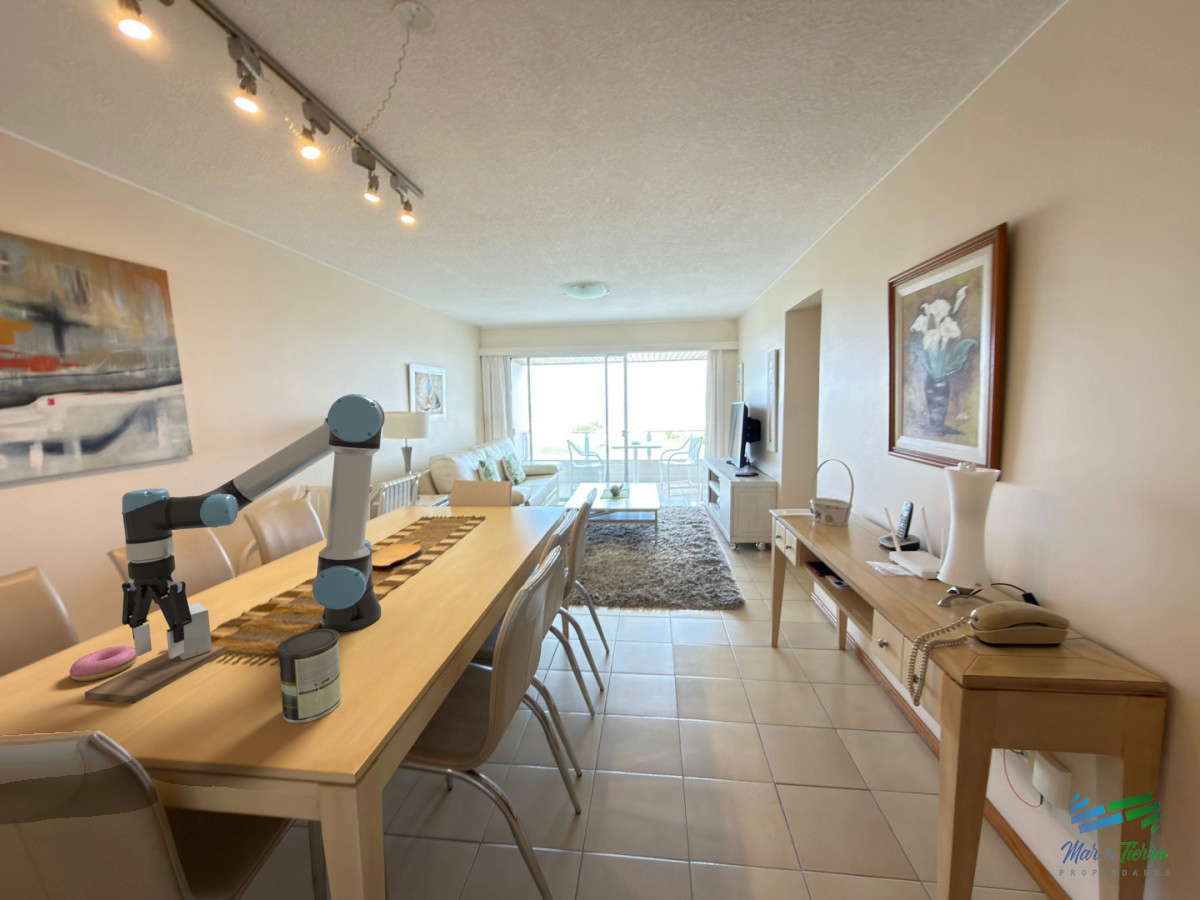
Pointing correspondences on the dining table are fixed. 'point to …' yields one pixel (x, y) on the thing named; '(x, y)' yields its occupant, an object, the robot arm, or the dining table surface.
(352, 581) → the robot arm
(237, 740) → the dining table surface
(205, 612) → the small box
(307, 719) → the coffee can
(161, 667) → the board
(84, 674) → the doughnut
